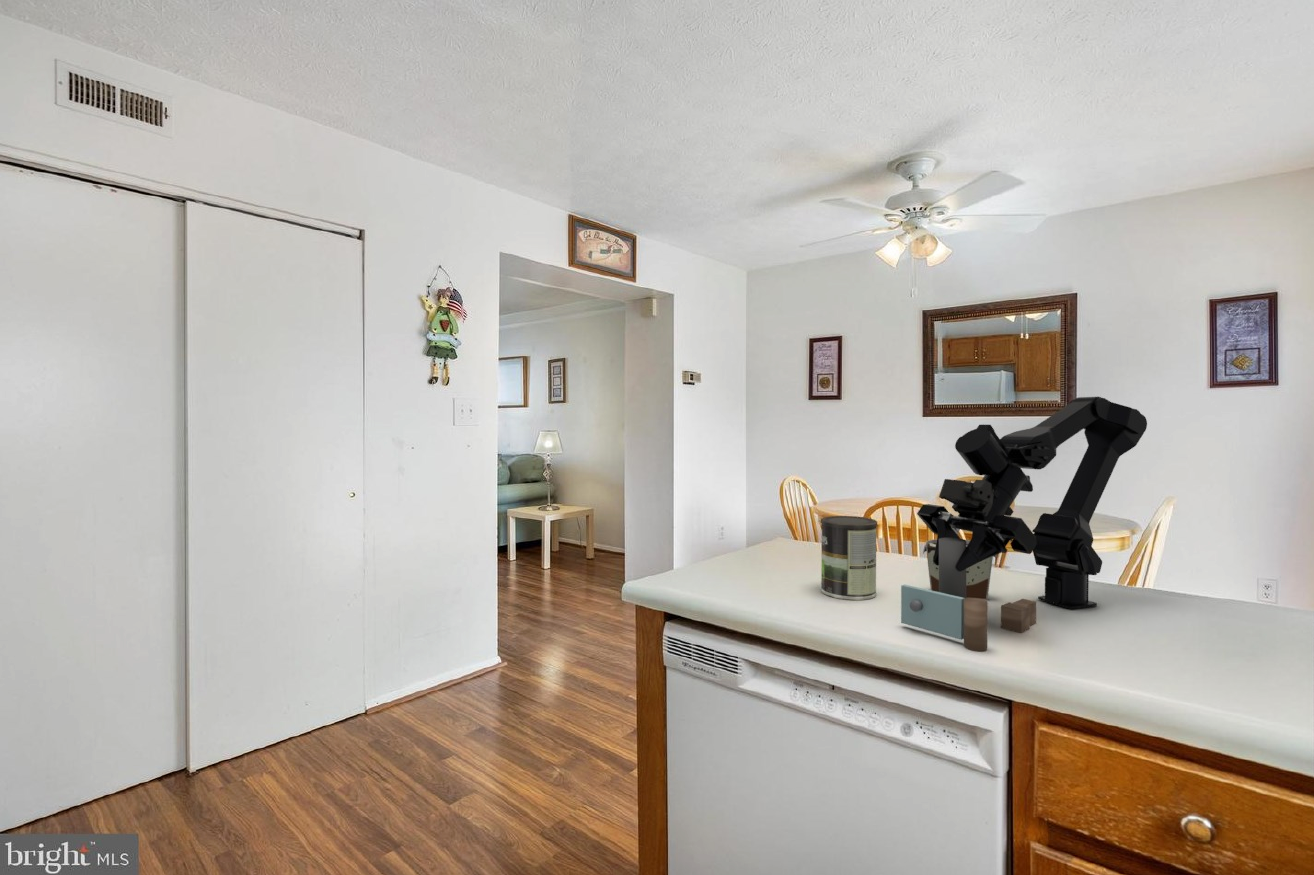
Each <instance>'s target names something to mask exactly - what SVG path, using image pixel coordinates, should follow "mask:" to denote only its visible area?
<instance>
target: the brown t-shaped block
mask: <svg viewBox="0 0 1314 875" xmlns="http://www.w3.org/2000/svg"><path fill="white" fill-rule="evenodd" d="M988 604H989V603H988V600H987V601H986V600H983V599H978V598H965V599H964V639H963V647H964V648H965V649H967V650H970V651H974V652H986V651H987V650H988V615H989V614H988V608H989V607H988ZM1036 623H1037V601H1036V600H1030V599H1027V598H1022V599H1019V600H1017V601H1015V602H1007V603H1005V604H1002V605H1001V606H1000V628H1001V629H1005V630H1008V631H1013V632H1016V633H1020V634H1021V633H1022V634H1023V633H1024V632H1026V631H1028V630H1030V628H1031V626H1033V625H1035V624H1036Z"/></svg>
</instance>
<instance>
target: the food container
mask: <svg viewBox="0 0 1314 875" xmlns="http://www.w3.org/2000/svg"><path fill="white" fill-rule="evenodd" d="M965 540H966V547H967V545H968V544H969V542H970V540H971V539H970V540H969V539H965ZM936 543H937V538H935V539H930V540H927V541H926V542H925V544H924V548H923V551H922V554H925V552H926V558H927V567H928V576H929V586H930V590H932V591H936V592H939V565H938V566H937V565H935V564H934V562H933V558H934V553H935V548H936ZM993 557H994V558H995V559H997V557H998V556H997V555H994V556H992V557H990V558H987V559H985V560H983V561H981V562H979V563H977V564H975V565H973V566H971V567H969V568H967V569H966V598H978V599H983V600H986V601H987V602H988V599H989V598H988V597H989V591H990V590H989V589H990V582H991V573H992V565H993Z"/></svg>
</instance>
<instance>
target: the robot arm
mask: <svg viewBox="0 0 1314 875" xmlns="http://www.w3.org/2000/svg"><path fill="white" fill-rule="evenodd" d="M1147 426H1148V420H1147V418H1146V417H1145V415H1144V414H1143V413H1141V412H1140V411H1139V409H1137V408H1132V407H1130V406H1126V405H1122V404H1119V403H1116V402H1112V401H1111V400H1108V399H1107V398H1105V397H1102V396H1084V397H1082V396H1080V397H1076V398H1074V399H1071V400H1070V402H1069V403H1068V404H1067V405H1065V406H1063V408H1061V409H1059V410H1058V411H1056V412H1055V413H1053V414H1052V415H1050V416H1049V417H1048V418H1045V419H1044V420H1043V421H1041V422H1040V423H1038V424H1037V425H1035V426H1033V427H1030V428H1026V429H1021V430H1017V431H1013V432H1010V433H1008V434H1006V435H1003V436H1002V437H1001V438H1000V437H999V436H998V434H997V433H996V431H995V428H993V426H992V424H979V425H978V426H977V427H976V428H975V429H972V430H969V431H967V432H966V433H964V434H963V435H962V436H959V437H958V438H957V440H956V442H955V444H954V448H955V450H956V452H957V453H958V454H959V455H960V456H961V458H962V459H963V461H964V462H965V463H966V464H967V466H968V467H969V468H970V469H971V471H972V472H973V474H975V475H978V476H983V477H982V478H981V479H975V480H974V482H972V481H966V480H958V479H949V478H945V479H944V480H943V483H942V487H941V490H940V492H939V496H938V498H939V499H942V500H946V501H948V502H949V503H951V504H952V506H951V508H952V510H953V511H954V512H955V513H958V515H954V514H952V513H950V512H949V510H948V509H947V508H946V507H945V505H944V506H943V505H937V504H932V503H926V504H925V503H924V504H922V506H921V507H920V508H919V510H918V511H917V513H916V515H917V516H918V517H919V519H920V520H921V521H922V522H923V523H924V524H925V526H926V527H927V528H928V529H929V530H930V531H931V533H933V534H935V535H937V538H936V539H937V543H936V548H935V553H934V558H933V562H934V564H935V565H937V566H938V565H939V538H959V539H962V538H961V537H960V536H959V534H960V533H959V532H960V530H962V531H965V532H970V533H972V534H971V538H970V542H969V544H968V545H967V547H966V548H965V550H964V552H963V553H962V555H961V557H960V558H959V560H958V562H957V564H956V566H955V568H956V569H957V570H958V571H960V572H961V571H963V570H965V569H967V568H969V567H971V566H973V565H975V564H977V563H979V562H981V561H983V560H985V559H987V558H990V557H992V556H994V555H996V556H997V555H999V554H1001V553H1002V554H1006V553H1008V549H1007V545H1008V544H1009V545H1010V546H1011V549H1012V551H1013V552H1017V553H1023V554H1027V555H1031V553H1033V556H1034V561H1035V562H1034V563H1035V565H1036V566H1042V567H1046V568H1045V577H1044V595H1039V596H1037V600H1039V601H1043V602H1046V603H1049V604H1052V605H1056V606H1059V607H1062V608H1065V609H1068V610H1074V609H1075V610H1076V609H1081V608H1082V609H1083V608H1091V607H1097V606H1098V603H1097V602H1094V601H1091V600H1089V579H1090V578H1089V576H1097V575H1098V574H1100V573H1101V570H1102V565H1103V560H1102V558H1101V557H1100V556H1099V555H1098V553H1097V552H1096V551H1095V549H1094V548H1093V547H1092V546H1093V543H1094V537H1093V536H1094V535H1093V533H1092V530H1091V526H1090V521H1091V520H1092V518H1093V516H1094V514H1095V511H1096V508H1097V507H1098V504H1099V502H1100V500H1101V498H1102V496H1103V493H1104V491H1105V489H1106V487H1107V485H1108V482H1109V481H1110V478H1111V476H1112V473H1113V471H1114V470H1115V467H1116V465H1117V463H1118V461H1119V458H1120V457H1121V456H1122V455H1124V454H1125V453H1127V452H1129V451H1130V450H1133V449H1134V448H1135V447H1136V446H1137V445H1138V443H1139V442H1140V440H1141V438H1142V437H1143V435H1144V433H1145V432H1146V430H1147V429H1148V428H1147ZM1082 430H1084V433H1083V434H1084V435H1085V439H1086V442H1087V448H1086V450H1085V453H1084V454H1083V456H1082V459H1081V461H1080V463H1079V465H1078V467H1077V470H1076V471H1075V474H1074V476H1073V478H1072V480H1071V482H1070V484H1069V486H1068V488H1067V491H1066V492H1065V495H1064V497H1063V499H1062V501H1061V504H1060V505H1059V508H1058V509H1057V511H1055V512H1053V513H1046V512H1044V513H1042V514H1040V516H1039V518H1038V520H1037V521H1038V522H1037V524H1036V526H1035V528H1033V529H1032V530H1031V528H1029V526H1028V525H1027V524H1026V522H1025V521H1024V519H1023V518H1021V517H1015V516H1012V515H1013V514H1014V512H1015V511H1014V510H1013V509H1012V507H1011V506H1012V504H1013V502H1014V501H1015V500H1016V498H1017V497H1018V496H1019V493H1020V492H1028V493H1031V492H1033V491H1034V486H1033V483H1032V482H1031V477H1030V475H1026V474H1025V472H1024V471H1023V470H1024V469H1025V470H1026V469H1027V470H1042V469H1044V468H1046V467H1047V466H1048V465H1049V464H1050V463H1051V462H1052V460H1054V459H1055V458H1056V456H1057V448H1059V447H1060V446H1061V445H1062V444H1063V443H1065V442H1066V441H1068V440H1069V439H1071V438H1072V437H1073V436H1075V435H1077V434H1078V433H1079V432H1081V431H1082ZM1022 469H1023V470H1022ZM1009 542H1010V543H1009Z"/></svg>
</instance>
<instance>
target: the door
mask: <svg viewBox="0 0 1314 875" xmlns="http://www.w3.org/2000/svg"><path fill="white" fill-rule="evenodd" d="M900 588H901V589H900V592H901V595H900V600H901V601H900V610H901V611H900V622H901V624H903V625H904V624H905V625H906V626H910V627H914V628H918V629H922V630H925V631H929V632H932V633H936V634H939V635H943V636H946V637H950V638H954V639H957V640H961V641H962V640H964V599H965V598H963V597H958V596H954V595H949V594H945V593H940V592H936V591H932V590H931V589H926V588H923V587H919V586H918V587H917V586H913V585H910V584H901V587H900Z"/></svg>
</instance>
